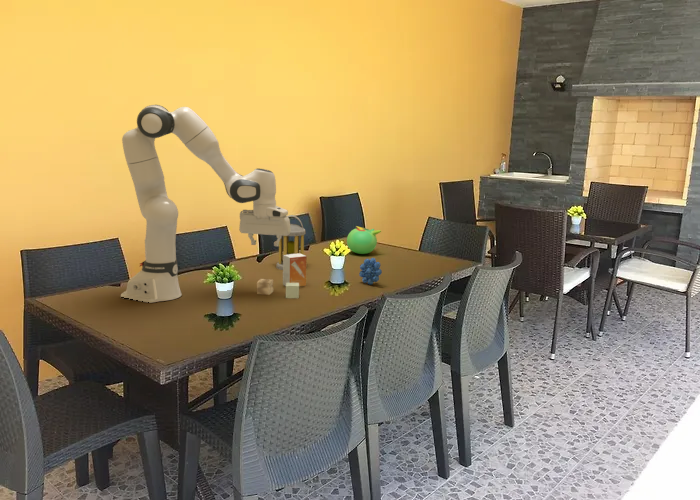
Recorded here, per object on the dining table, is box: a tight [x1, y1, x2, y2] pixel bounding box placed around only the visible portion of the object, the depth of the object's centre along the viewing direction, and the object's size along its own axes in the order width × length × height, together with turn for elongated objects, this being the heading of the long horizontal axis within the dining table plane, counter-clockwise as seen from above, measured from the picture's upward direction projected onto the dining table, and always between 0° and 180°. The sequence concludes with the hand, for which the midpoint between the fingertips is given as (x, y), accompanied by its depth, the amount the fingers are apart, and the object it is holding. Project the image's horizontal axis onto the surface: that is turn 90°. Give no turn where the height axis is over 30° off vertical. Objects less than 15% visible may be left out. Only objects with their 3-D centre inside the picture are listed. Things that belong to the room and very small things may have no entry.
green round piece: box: [346, 225, 382, 255], centre depth 309 cm, size 18×17×15 cm
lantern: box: [275, 214, 307, 271], centre depth 273 cm, size 14×14×25 cm
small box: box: [282, 252, 308, 288], centre depth 243 cm, size 8×6×13 cm
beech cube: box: [256, 278, 274, 296], centre depth 232 cm, size 5×5×5 cm
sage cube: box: [285, 283, 300, 299], centre depth 227 cm, size 5×5×5 cm
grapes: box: [359, 257, 382, 286], centre depth 247 cm, size 12×7×12 cm, turn 50°
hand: (265, 245), depth 228 cm, fingers open, 8 cm apart
